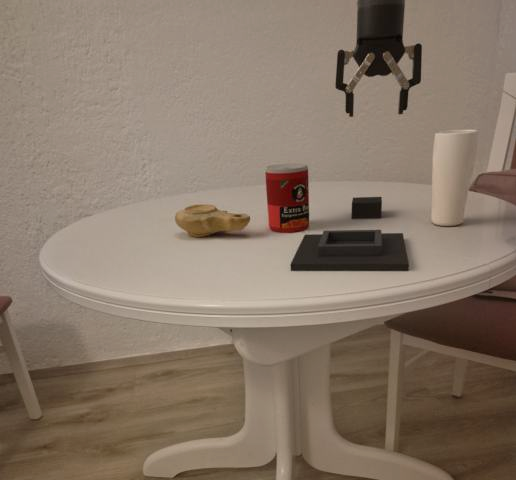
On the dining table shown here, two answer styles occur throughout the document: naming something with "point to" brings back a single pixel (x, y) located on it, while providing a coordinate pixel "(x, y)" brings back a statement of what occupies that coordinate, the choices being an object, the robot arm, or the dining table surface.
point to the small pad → (366, 207)
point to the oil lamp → (209, 220)
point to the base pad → (351, 251)
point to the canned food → (287, 197)
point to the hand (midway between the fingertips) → (375, 115)
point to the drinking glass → (452, 174)
